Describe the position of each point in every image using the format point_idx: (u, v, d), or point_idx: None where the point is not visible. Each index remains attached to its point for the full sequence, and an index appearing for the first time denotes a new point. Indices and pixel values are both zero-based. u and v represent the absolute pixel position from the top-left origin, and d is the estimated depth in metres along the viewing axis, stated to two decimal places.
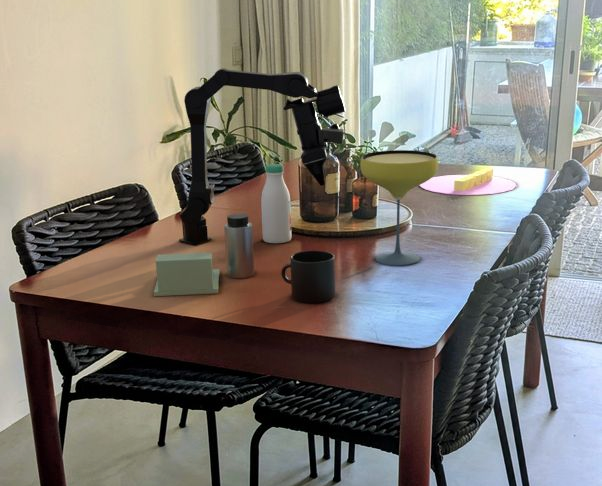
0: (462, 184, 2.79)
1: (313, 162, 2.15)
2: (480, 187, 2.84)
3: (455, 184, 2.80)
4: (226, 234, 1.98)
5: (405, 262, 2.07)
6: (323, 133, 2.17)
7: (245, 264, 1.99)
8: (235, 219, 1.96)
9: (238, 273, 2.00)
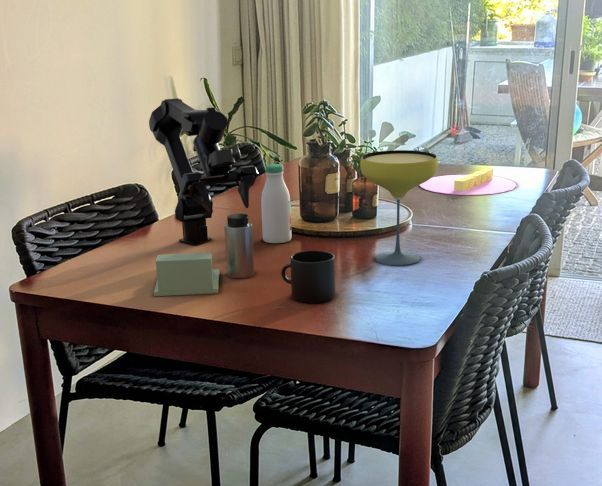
0: (462, 184, 2.79)
1: (189, 191, 2.04)
2: (480, 187, 2.84)
3: (455, 184, 2.80)
4: (226, 234, 1.98)
5: (405, 262, 2.07)
6: (208, 159, 2.05)
7: (245, 264, 1.99)
8: (235, 219, 1.96)
9: (238, 273, 2.00)
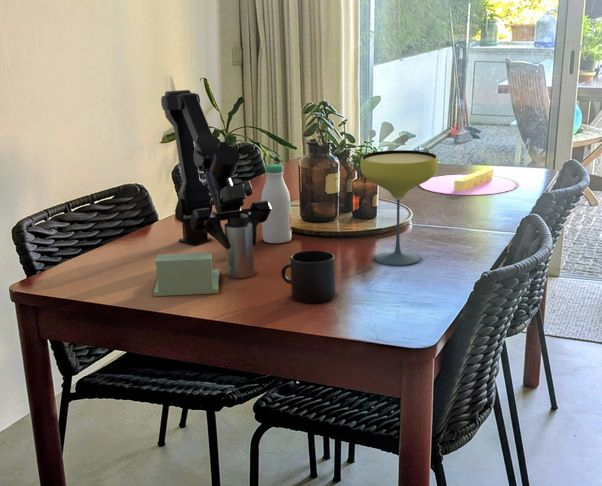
0: (462, 184, 2.79)
1: (205, 226, 2.00)
2: (480, 187, 2.84)
3: (455, 184, 2.80)
4: (226, 234, 1.98)
5: (405, 262, 2.07)
6: (219, 195, 2.00)
7: (245, 264, 1.99)
8: (235, 219, 1.96)
9: (238, 273, 2.00)
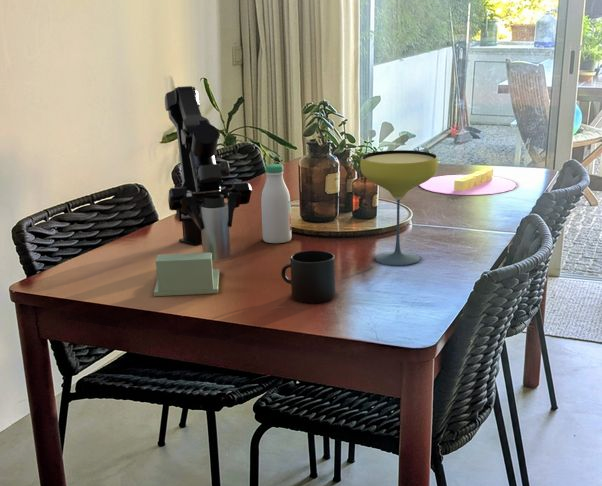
0: (462, 184, 2.79)
1: (181, 205, 1.97)
2: (480, 187, 2.84)
3: (455, 184, 2.80)
4: (200, 214, 1.94)
5: (405, 262, 2.07)
6: (198, 174, 1.96)
7: (219, 245, 1.95)
8: (209, 199, 1.92)
9: (212, 255, 1.96)
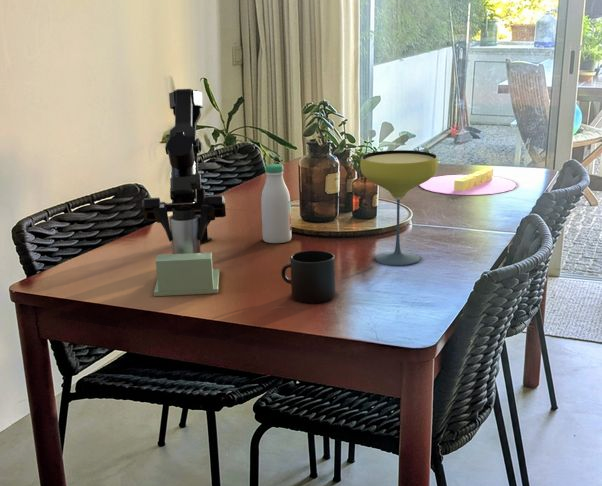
0: (462, 184, 2.79)
1: (155, 216, 1.97)
2: (480, 187, 2.84)
3: (455, 184, 2.80)
4: (170, 226, 1.94)
5: (405, 262, 2.07)
6: None
7: None
8: (176, 211, 1.91)
9: None
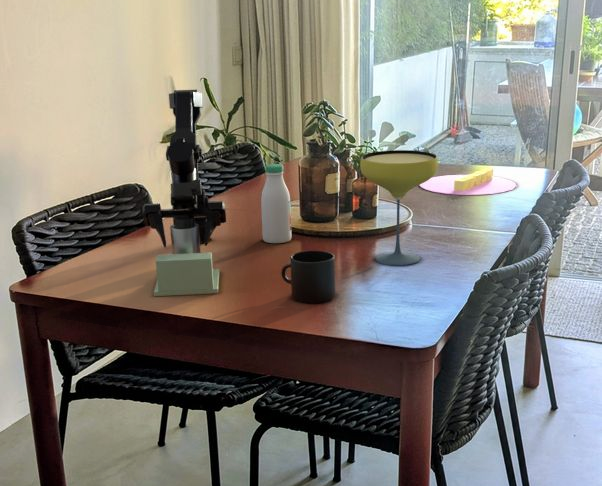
0: (462, 184, 2.79)
1: (150, 222, 1.98)
2: (480, 187, 2.84)
3: (455, 184, 2.80)
4: None
5: (405, 262, 2.07)
6: None
7: None
8: (177, 220, 1.92)
9: None
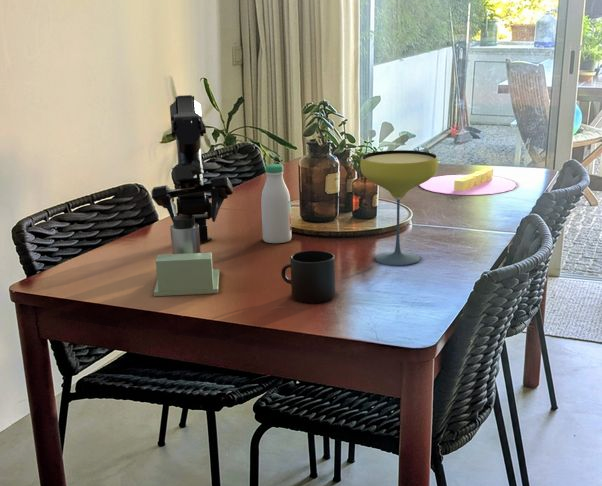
0: (462, 184, 2.79)
1: None
2: (480, 187, 2.84)
3: (455, 184, 2.80)
4: None
5: (405, 262, 2.07)
6: None
7: None
8: (177, 220, 1.92)
9: None
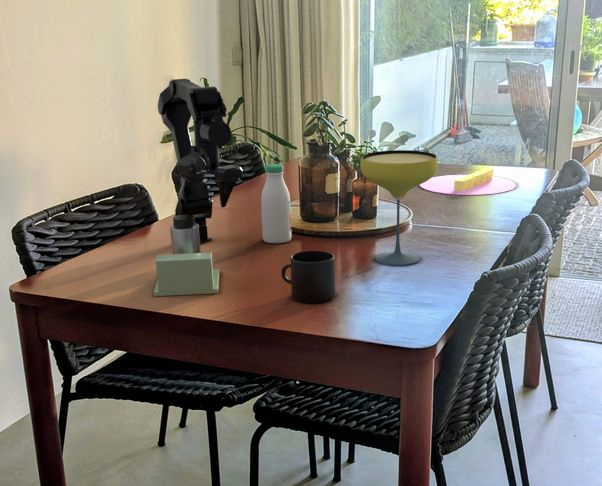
0: (462, 184, 2.79)
1: None
2: (480, 187, 2.84)
3: (455, 184, 2.80)
4: None
5: (405, 262, 2.07)
6: None
7: None
8: (177, 220, 1.92)
9: None
